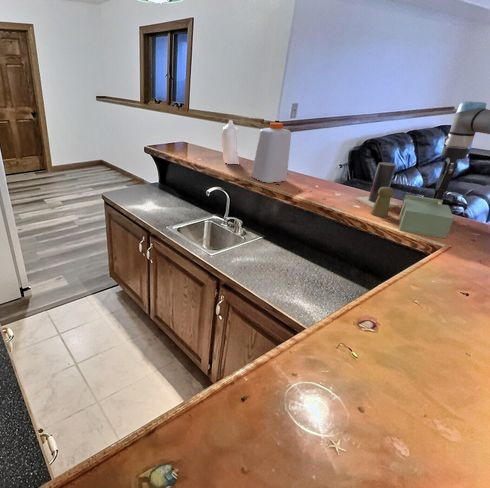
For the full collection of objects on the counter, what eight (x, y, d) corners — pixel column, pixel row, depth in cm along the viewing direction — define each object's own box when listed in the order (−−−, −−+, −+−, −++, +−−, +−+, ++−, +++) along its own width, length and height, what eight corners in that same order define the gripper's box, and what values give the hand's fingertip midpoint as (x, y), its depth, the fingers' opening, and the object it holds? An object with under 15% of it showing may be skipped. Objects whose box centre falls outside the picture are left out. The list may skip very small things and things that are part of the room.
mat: (398, 207, 147) (399, 205, 146) (373, 208, 145) (373, 206, 144) (378, 198, 157) (379, 195, 157) (354, 199, 155) (355, 197, 155)
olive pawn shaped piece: (371, 210, 143) (378, 184, 138) (387, 213, 140) (396, 186, 135) (370, 215, 138) (377, 188, 133) (387, 218, 136) (396, 190, 131)
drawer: (400, 205, 147) (405, 191, 144) (436, 210, 141) (441, 197, 139) (401, 218, 133) (406, 204, 130) (441, 225, 127) (446, 210, 125)
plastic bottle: (289, 181, 179) (299, 124, 166) (265, 184, 174) (273, 126, 161) (271, 174, 191) (279, 120, 179) (248, 176, 186) (254, 121, 174)
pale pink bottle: (231, 166, 206) (235, 122, 195) (216, 163, 212) (220, 120, 201) (242, 163, 213) (246, 120, 202) (227, 160, 220) (231, 118, 209)
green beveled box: (398, 217, 137) (405, 198, 133) (441, 224, 130) (448, 205, 127) (399, 230, 125) (406, 210, 122) (445, 238, 119) (454, 218, 116)
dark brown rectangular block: (388, 203, 148) (400, 165, 141) (375, 203, 147) (386, 166, 140) (377, 198, 154) (388, 161, 147) (364, 198, 153) (375, 162, 146)
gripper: (442, 142, 135) (421, 200, 146) (446, 148, 125) (423, 209, 136) (466, 144, 132) (443, 203, 142) (472, 150, 122) (447, 213, 132)
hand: (433, 206), depth 139 cm, fingers closed
